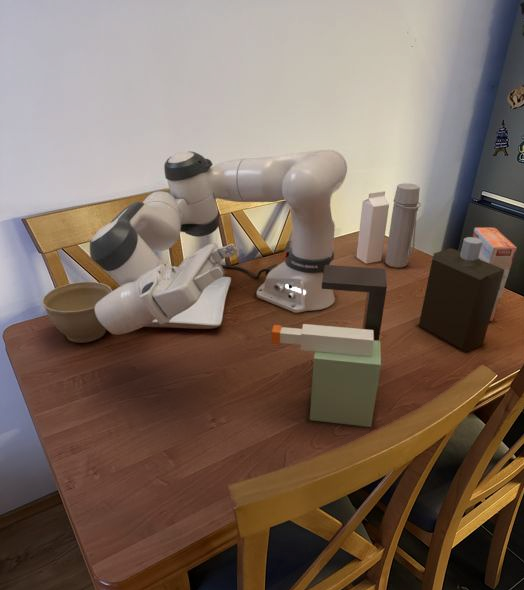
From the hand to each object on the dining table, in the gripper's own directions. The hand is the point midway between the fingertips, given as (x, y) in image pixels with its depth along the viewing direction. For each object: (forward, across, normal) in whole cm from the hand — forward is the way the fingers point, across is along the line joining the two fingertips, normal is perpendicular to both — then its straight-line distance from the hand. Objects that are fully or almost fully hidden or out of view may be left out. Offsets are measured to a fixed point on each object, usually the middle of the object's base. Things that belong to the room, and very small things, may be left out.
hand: (228, 258), depth 85 cm
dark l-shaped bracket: (+3, -11, -38) cm, 40 cm away
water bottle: (+16, -75, -46) cm, 89 cm away
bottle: (+26, -34, -51) cm, 66 cm away
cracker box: (+33, -48, -56) cm, 81 cm away
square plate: (-37, -35, -15) cm, 53 cm away
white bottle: (+7, 0, -23) cm, 24 cm away
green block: (+3, 0, -38) cm, 39 cm away
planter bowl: (-53, -19, -6) cm, 56 cm away
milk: (+8, -78, -41) cm, 89 cm away
